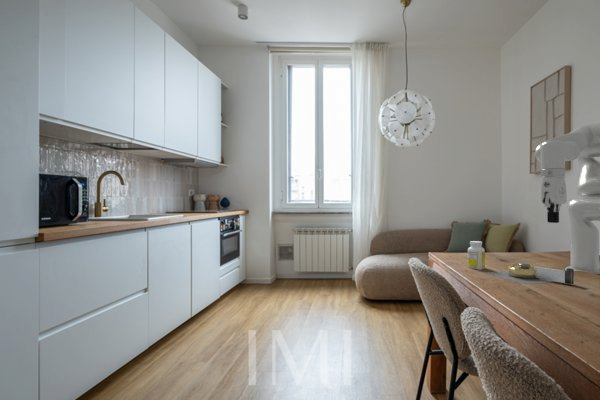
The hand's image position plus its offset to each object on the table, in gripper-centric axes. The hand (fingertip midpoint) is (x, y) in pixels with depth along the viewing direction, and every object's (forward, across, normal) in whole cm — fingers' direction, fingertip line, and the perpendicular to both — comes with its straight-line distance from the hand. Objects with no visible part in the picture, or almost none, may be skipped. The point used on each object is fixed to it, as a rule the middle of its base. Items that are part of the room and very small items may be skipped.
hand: (553, 222), depth 133 cm
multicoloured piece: (+21, -8, +1) cm, 22 cm away
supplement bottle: (+23, -7, +27) cm, 36 cm away
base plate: (+22, -8, +7) cm, 25 cm away
